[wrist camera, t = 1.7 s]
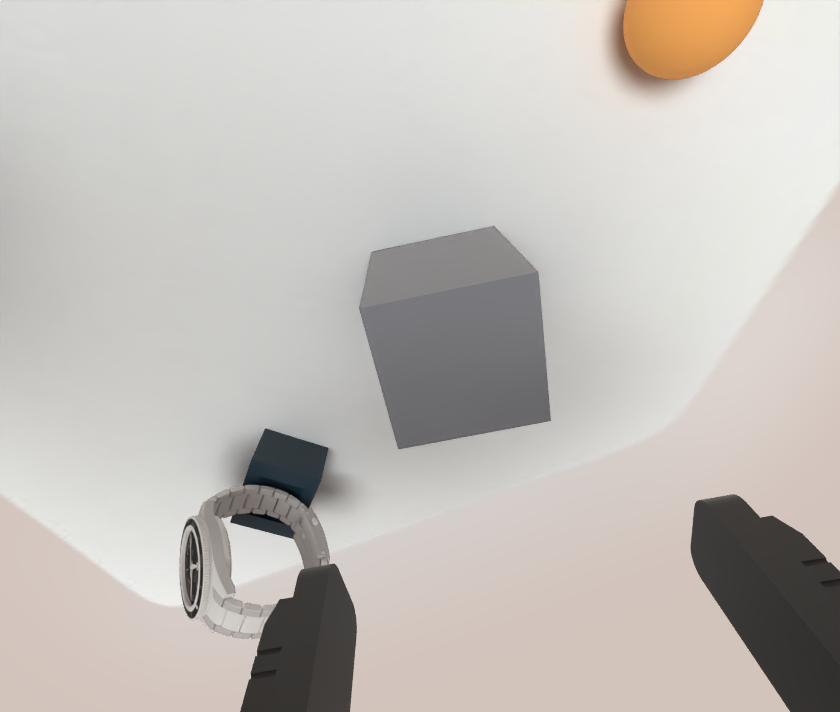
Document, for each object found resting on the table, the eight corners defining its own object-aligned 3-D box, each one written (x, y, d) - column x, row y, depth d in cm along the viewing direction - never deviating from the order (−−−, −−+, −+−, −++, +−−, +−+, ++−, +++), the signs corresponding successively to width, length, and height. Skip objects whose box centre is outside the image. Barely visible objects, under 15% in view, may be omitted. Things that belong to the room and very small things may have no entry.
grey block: (398, 359, 28) (398, 449, 20) (371, 251, 25) (359, 308, 17) (507, 337, 28) (550, 420, 20) (493, 226, 25) (538, 271, 17)
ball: (605, 94, 22) (657, 86, 18) (603, -35, 20) (662, -83, 15) (709, 71, 22) (789, 56, 17) (719, -62, 20) (814, -119, 15)
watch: (235, 419, 30) (153, 564, 20) (352, 455, 31) (331, 605, 21) (216, 481, 32) (134, 639, 22) (326, 512, 33) (296, 671, 24)
